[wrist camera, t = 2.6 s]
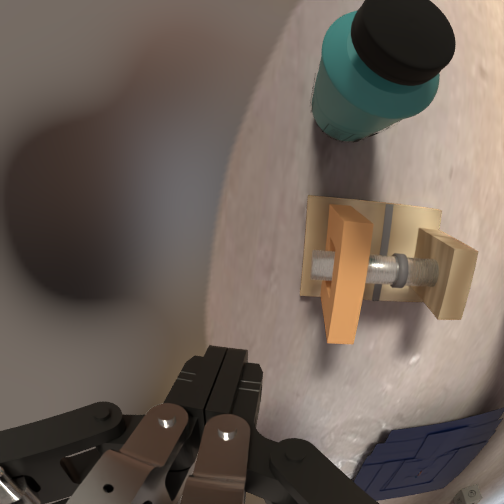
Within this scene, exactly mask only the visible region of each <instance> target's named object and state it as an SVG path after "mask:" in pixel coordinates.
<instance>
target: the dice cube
mask: <svg viewBox="0 0 504 504" xmlns="http://www.w3.org/2000/svg"><path fill="white" fill-rule="evenodd" d="M481 499H482V495H481V493H480V490H479V487H478V484H476V485H473V486H470V487H467V488H464V489H461V490H460V492H459V493H458V494H457V495H456V496H455V497H454V498H453V500H454V504H477V503H478V502H479V501H480V500H481Z"/></svg>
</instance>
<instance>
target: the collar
mask: <svg viewBox="0 0 504 504" xmlns="http://www.w3.org/2000/svg"><path fill="white" fill-rule="evenodd" d="M373 225H374V224H373V223H372V222H371V221H369V220H368V219H367V218H366V217H364V216H363V215H362V214H361V213H359V212H358V211H357V210H355V209H354V208H353V207H352V206H348V205H336V204H329V217H328V228H327V239H326V249H325V251H335V258H334V266H333V274H332V281H325V280H322V285H321V293H320V296H321V302H322V309H323V316H324V323H325V330H326V338H327V343H335V344H353V343H354V339H355V334H356V330H357V325H358V320H359V315H360V310H361V305H362V299H363V294H364V288H365V282H366V276H367V270H368V263H369V256H370V249H371V241H372V233H373Z"/></svg>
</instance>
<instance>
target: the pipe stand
mask: <svg viewBox="0 0 504 504" xmlns="http://www.w3.org/2000/svg"><path fill="white" fill-rule="evenodd" d="M329 204H336V205H348V206H352V207H353V208H354V209H355V210H357V211H358V212H359V213H361V214H362V215H363V216H364V217H366V218H367V219H368V220H369V221H371V222H372V223H373V224H374V225H373V233H372V241H371V249H370V256H369V263H368V270H367V276H366V282H365V288H364V294H363V299H362V300H372V301H379V300H380V301H403V302H424V303H425V304H426V305H427V307H428V308H429V309H430V310H431V312H432V313H433V314H434V315H435V317H436V318H437V319H438V320H461V318H462V315H463V311H464V308H465V305H466V301H467V297H468V294H469V290H470V286H471V282H472V278H473V274H474V270H475V265H476V260H477V255H478V251H477V250H475V249H473V248H471V247H470V246H468V245H466V244H464V243H462V242H461V241H459V240H457V239H455V238H453V237H451V236H450V235H448V234H446V233H444V232H442V231H440V230H439V229H440V222H441V214H442V211H441V210H439V209H433V208H425V207H418V206H410V205H402V204H394V203H385V202H376V201H366V200H357V199H346V198H335V197H323V196H310V195H308V201H307V216H306V229H305V242H304V254H303V266H302V276H301V287H300V296H313V297H321V296H320V293H321V285H322V280H325V281H332V274H333V266H334V258H335V251H325V249H326V239H327V228H328V217H329Z"/></svg>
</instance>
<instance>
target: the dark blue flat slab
mask: <svg viewBox="0 0 504 504" xmlns="http://www.w3.org/2000/svg"><path fill="white" fill-rule="evenodd" d="M503 412H504V408H500V409H497V410H494V411H490V412H487V413H483V414H480V415H476V416H472V417H468V418H464V419H460V420H455V421H450V422H445V423H440V424H434V425H428V426H421V427H414V428H406V429H398V430H392V431H391V433H390V434H389V436H388V438H387V440H386V442H385V443H382V444H377V445H376V447H375V448H374V450H373V452H372V454H371V455H370V456H367V458H366V460H365V462H364V463H363V465H362V467H361V469H360V471H359V473H358V475H357V476H356V478H355V480H354V483H355V484H356V485H358V486H359V487H360V488H361V489H362V490H363V491H365V492H366V493H367V494H368V495H369V496H370V497H372V498H373V499H374V500H375V501H378V500H385V499H391V498H397V497H403V496H409V495H414V494H419V493H424V492H429V491H433V490H438V489H442V488H444V487H445V486H446V485H447V484H448V483H450V482H451V481H452V480H453V479H454V478H455V477H456V476H458V475H459V474H460V473H461V472H462V471H463V470H464V469H465V468H466V466H467V465H468V464H469V463H470V462H471V461H472V460H473V459H474V458H475V457H476V455H477V454H478V453H479V452H480V451H481V450H482V448H483V447H484V446H485V445H486V444H487V442H488V440H489V439H490V438H491V436H492V435H493V434H494V432H495V431H496V430H495V429H496V428H497V426H498V425H499V424H500V422H501V421H502V419H503V418H502V419H499V418H500V416H501V415H502V413H503ZM498 419H499V420H498ZM494 430H495V431H494Z"/></svg>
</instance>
